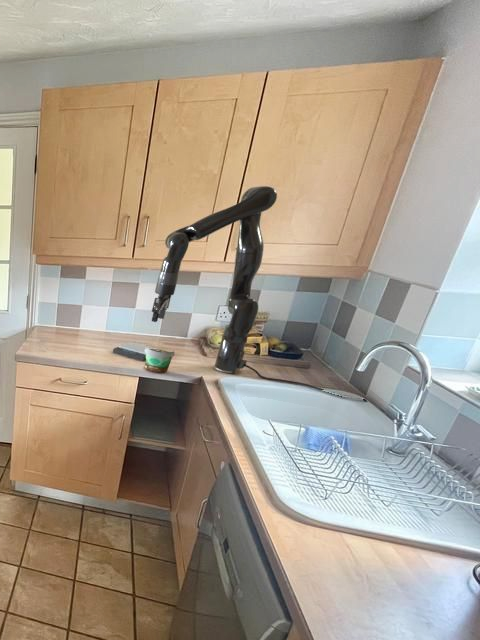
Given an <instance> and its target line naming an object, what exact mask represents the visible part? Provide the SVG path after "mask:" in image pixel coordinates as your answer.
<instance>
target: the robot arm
mask: <svg viewBox="0 0 480 640" xmlns="http://www.w3.org/2000/svg"><path fill="white" fill-rule="evenodd" d="M277 198H278V193H277V191H276V189H275V188H274V187H271V186H267V185H263V186H261V185H260V186H253V187H250V188H248V189H247V190H245V191H244V193H243V194H242V196H241V198H240V201H239V202H238V203H236V204H234V205H231V206H229V207H226V208H224V209H221V210H218V211H216V212H213V213H210V214H208V215H207V216H205V217H203V218H200V219H199V220H197V221H195V222H193V223H192V224H189V225H186V226H184V227H182V228H178V229H176V230H174V231H172V232H171V233H169V234H168V235H167V236H166V238H165V241H164V245H165V247H166V248H167V249H168V251H167V255H166V257H164V258H163V259H162V263H161V267H160V270H159V274H158V277H157V281H156V285H155V289H154V293H155V294H157V295H158V296H157V297H155V298H154V302H153V305H152V309H151V312H152V316H151V322H152V323H153V322H154V323H157V322H158V320H159V319H160V320H164V318H165V315H166V311H167V310H168V309H169V307H170V302H171V300H172V299H171V298H172V296H173V295H175V291H176V288H177V284H178V279H179V274H180V269H181V266H182V261H183V259H184V258H185V256H186V253H187V251H188V248H189V245H190V243H191V242H194V241H200V240H202V239H204V238H206V237H208V236H210V235H212V234H214V233H216V232H217V231H219V230H221V229H224V228H226V227H228V226H230V225H232V224H234V223H236V222H239V228H238V236H237V245H236V250H235V257H234V268H233V275H232V285H231V289H230V293H229V297H228V301H227V311H228V313H229V314H230V315H231V318H230V321H229V323H227V324H225V326H224V328H223V332H222V337H221V340H220V345H219V348H218V351H217V356H216V359H215V363H214V366H213V369H214V370H215V371H218V372H220V373H224V374H230V375H231V374H232V375H236V374H237V373H239V372H240V370H242V369H244V368H245V367H246V368H248V369H249V370H250V371H252V372H254V373H255V374H256V375H257V376H258V377H259V378H261V379H264V380H267V381H277V382H284V383H290V384H294V385H301V386H305V387H309V388H312V389H315V390H317V391H321V392H324V393H326V394H330V395H333V396H336V397H340V398H344V399H346V398H345V397H342V396H339V395H335V394H332V393H329V392H325V391H322V390H324V389H325V388H321V387H318V386H315V385H311V384H307V383H304V382H300V381H294V380H286V379H281V378H273V377H267V376H264V375H261V374H260V373H259V372H258V370H257V369H255V368H254V367H251V366H250V365H247V360H245V359H244V356H245V353H246V351H245V348H246V344H247V341H248V337H249V334H250V332H251V330H253V327H254V324H255V321H256V319H257V317H258V312H259V303H258V301H257V300H256V299H254V298H252V297H251V293H252V292H251V291H252V290H251V289H252V284H253V281H254V279H255V277H256V276H257V273H258V272H259V269H260V268H261V266H262V263H263V255H264V247H265V246H264V245H265V243H264V238H263V234H262V231H261V218H262V213H263V212H266V211H268V210H270V209H271V208H272V207H273V206H274V205H275V204H276V202H277ZM359 396H360V395H359ZM360 397H362V396H360ZM362 401H363V402H365V403H368V399H366V398H365V399H363V400H362Z"/></svg>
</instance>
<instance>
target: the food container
mask: <svg viewBox="0 0 480 640" xmlns="http://www.w3.org/2000/svg"><path fill="white" fill-rule="evenodd" d="M145 353H146V360H145V361H144V362H145V363H144V369H145V370H146V371H148V372H150V373H152V374H153V373H154V374H166V373H168V370H169V367H170V365H171V362H172V359H173V357H175V353H176V352H175V350H173V351H166V350H163V349H159V348H156V350H155V349H148V348H147V347H146V349H145Z"/></svg>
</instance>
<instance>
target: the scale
mask: <svg viewBox="0 0 480 640" xmlns="http://www.w3.org/2000/svg"><path fill="white" fill-rule="evenodd" d="M146 347H147V348H148V349H155V350H156V349H157V348H156V347H153V346H148V345H144V344H140V343H136V342H132V341H128V342H126V343H123V344H121V345H118V346H116V347H114V348H112V349H113V350H112V354H116V355H119V356H123V357H126V358H129V359H133V360H136V361H140V362H146V353H145V349H146Z"/></svg>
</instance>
